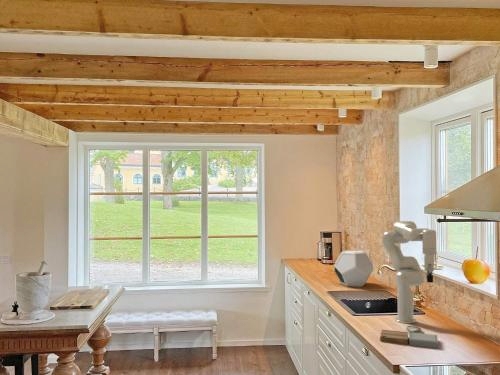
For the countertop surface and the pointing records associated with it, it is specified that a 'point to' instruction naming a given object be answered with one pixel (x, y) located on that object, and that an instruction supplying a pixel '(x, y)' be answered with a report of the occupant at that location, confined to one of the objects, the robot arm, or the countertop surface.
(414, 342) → the slate stand
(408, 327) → the stone
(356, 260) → the dodecahedron
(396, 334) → the walnut stand
